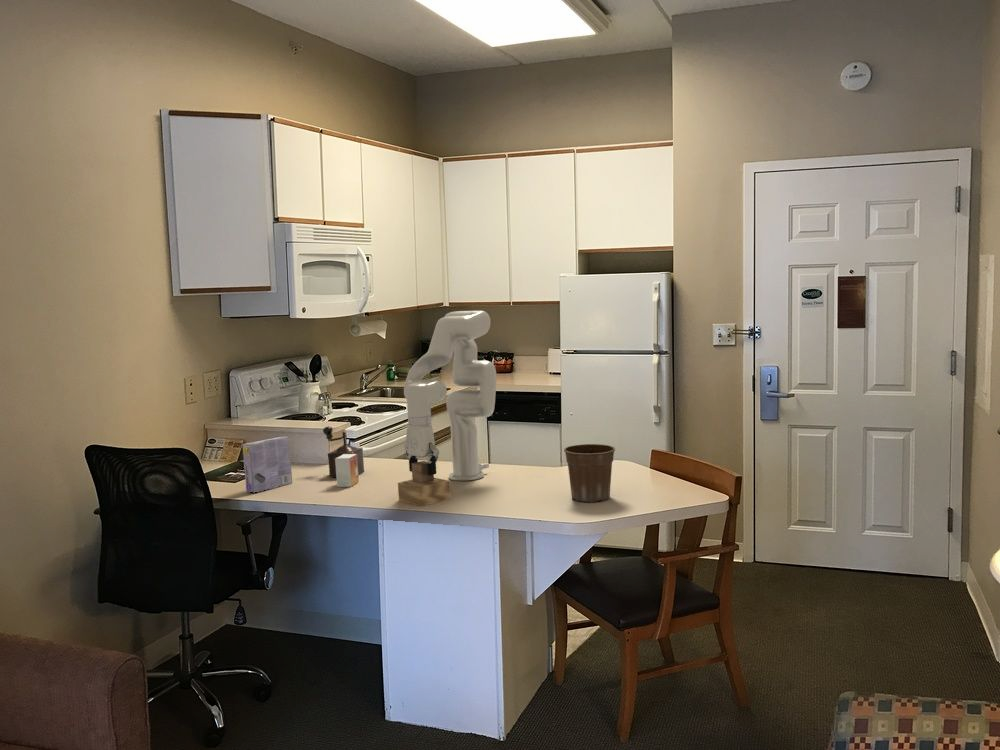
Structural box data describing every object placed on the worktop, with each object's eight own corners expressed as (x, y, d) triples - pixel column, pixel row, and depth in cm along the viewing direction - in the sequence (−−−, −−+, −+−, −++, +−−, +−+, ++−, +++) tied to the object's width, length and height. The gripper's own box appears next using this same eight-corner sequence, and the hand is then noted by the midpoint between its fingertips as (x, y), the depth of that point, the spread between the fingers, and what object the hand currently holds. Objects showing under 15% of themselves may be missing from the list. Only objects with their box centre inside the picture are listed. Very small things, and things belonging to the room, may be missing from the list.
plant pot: (619, 492, 297) (617, 443, 295) (614, 504, 281) (612, 453, 279) (570, 491, 300) (567, 443, 298) (562, 504, 285) (560, 453, 283)
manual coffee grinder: (366, 471, 349) (362, 425, 347) (354, 477, 339) (351, 430, 337) (328, 471, 353) (325, 425, 351) (316, 477, 342) (312, 430, 340)
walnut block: (424, 478, 302) (423, 460, 302) (434, 480, 299) (432, 462, 298) (412, 481, 299) (411, 463, 298) (421, 483, 295) (420, 465, 295)
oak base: (427, 493, 308) (426, 475, 307) (450, 498, 299) (449, 479, 298) (398, 500, 300) (397, 481, 299) (421, 506, 291) (419, 486, 290)
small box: (351, 487, 323) (349, 458, 322) (336, 487, 325) (334, 458, 323) (359, 482, 331) (357, 453, 330) (344, 482, 332) (342, 453, 331)
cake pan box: (286, 481, 338) (282, 434, 337) (295, 482, 336) (292, 435, 334) (244, 493, 323) (240, 443, 321) (254, 494, 320) (250, 444, 318)
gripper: (394, 420, 301) (398, 471, 303) (426, 425, 288) (430, 478, 290) (412, 417, 306) (416, 467, 308) (445, 421, 293) (448, 474, 295)
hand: (422, 472), depth 299 cm, fingers open, 9 cm apart
